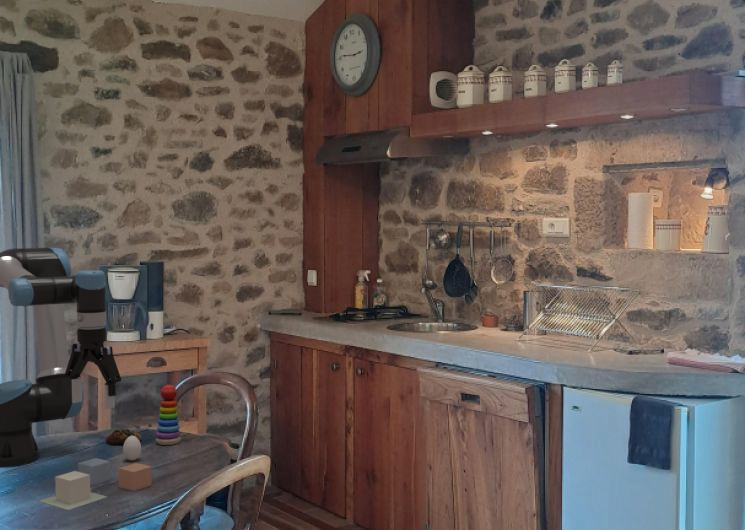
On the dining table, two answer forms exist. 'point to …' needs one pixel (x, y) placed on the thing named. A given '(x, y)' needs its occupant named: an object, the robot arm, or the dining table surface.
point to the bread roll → (121, 437)
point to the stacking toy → (168, 418)
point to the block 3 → (135, 476)
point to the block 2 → (96, 470)
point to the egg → (132, 448)
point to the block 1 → (72, 487)
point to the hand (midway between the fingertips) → (93, 405)
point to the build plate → (67, 506)
